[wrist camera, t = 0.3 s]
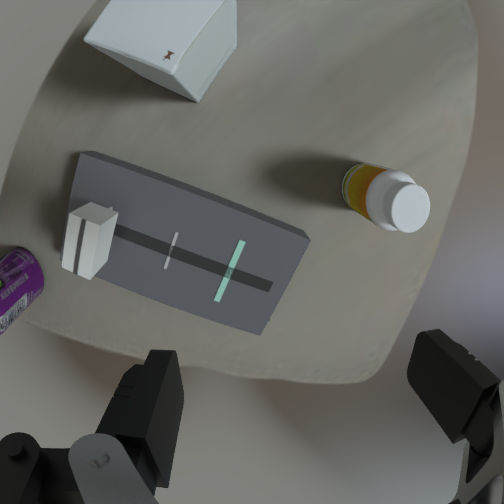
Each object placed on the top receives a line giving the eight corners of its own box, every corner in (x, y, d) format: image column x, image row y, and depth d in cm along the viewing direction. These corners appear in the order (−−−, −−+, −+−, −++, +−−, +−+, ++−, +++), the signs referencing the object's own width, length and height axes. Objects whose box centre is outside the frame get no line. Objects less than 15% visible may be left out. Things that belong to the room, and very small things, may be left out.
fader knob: (97, 198, 24) (68, 213, 19) (124, 208, 25) (99, 226, 20) (87, 244, 26) (61, 267, 21) (112, 255, 27) (89, 280, 21)
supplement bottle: (339, 211, 30) (380, 243, 21) (340, 161, 28) (385, 173, 19) (382, 211, 30) (432, 240, 21) (385, 163, 28) (439, 177, 19)
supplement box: (239, 46, 23) (242, -14, 11) (198, 105, 25) (170, 79, 14) (177, 18, 21) (146, -44, 10) (137, 75, 23) (78, 41, 12)
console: (93, 151, 26) (79, 153, 23) (303, 230, 31) (310, 240, 28) (71, 250, 30) (59, 260, 27) (258, 320, 34) (260, 336, 31)
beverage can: (31, 238, 29) (-29, 279, 18) (55, 286, 31) (6, 339, 20) (4, 255, 29) (-49, 295, 18) (26, 299, 32) (-19, 347, 21)
